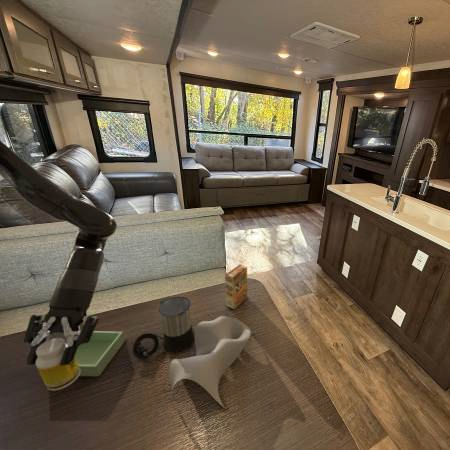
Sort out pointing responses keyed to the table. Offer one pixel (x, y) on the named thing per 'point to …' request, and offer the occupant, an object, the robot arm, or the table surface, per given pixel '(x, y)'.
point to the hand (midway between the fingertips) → (49, 364)
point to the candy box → (236, 286)
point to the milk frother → (170, 327)
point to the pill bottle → (55, 365)
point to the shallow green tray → (98, 352)
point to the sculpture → (211, 353)
